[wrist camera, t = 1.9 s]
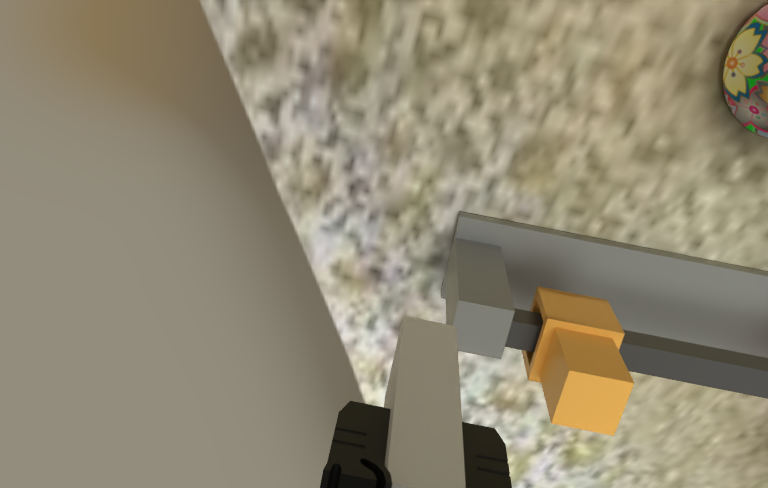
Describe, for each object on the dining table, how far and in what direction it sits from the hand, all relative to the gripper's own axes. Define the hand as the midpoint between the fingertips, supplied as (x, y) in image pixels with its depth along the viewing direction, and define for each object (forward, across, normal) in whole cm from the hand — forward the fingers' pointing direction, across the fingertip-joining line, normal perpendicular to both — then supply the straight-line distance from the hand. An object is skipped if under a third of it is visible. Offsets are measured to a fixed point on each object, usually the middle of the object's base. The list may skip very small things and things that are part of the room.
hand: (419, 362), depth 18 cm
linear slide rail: (+25, +17, -6) cm, 31 cm away
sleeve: (+18, +9, -6) cm, 21 cm away
